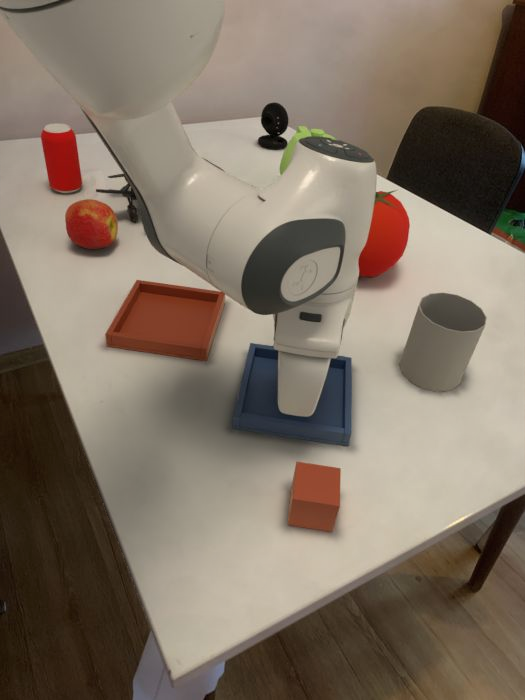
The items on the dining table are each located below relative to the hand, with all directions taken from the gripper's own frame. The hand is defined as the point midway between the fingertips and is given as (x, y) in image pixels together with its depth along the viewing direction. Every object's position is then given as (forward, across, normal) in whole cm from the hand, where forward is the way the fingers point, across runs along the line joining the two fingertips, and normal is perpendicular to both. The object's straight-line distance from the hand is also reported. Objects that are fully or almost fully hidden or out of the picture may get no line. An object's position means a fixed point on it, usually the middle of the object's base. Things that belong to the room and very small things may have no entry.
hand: (296, 386), depth 67 cm
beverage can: (+2, -49, -50) cm, 70 cm away
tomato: (+2, -33, +8) cm, 34 cm away
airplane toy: (+2, -45, -32) cm, 55 cm away
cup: (+2, -9, +18) cm, 20 cm away
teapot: (+2, -64, -2) cm, 64 cm away
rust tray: (+2, -11, -19) cm, 22 cm away
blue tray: (+2, 0, 0) cm, 2 cm away
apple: (+2, -29, -37) cm, 47 cm away
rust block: (+2, +16, +3) cm, 16 cm away
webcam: (+2, -89, -13) cm, 90 cm away
